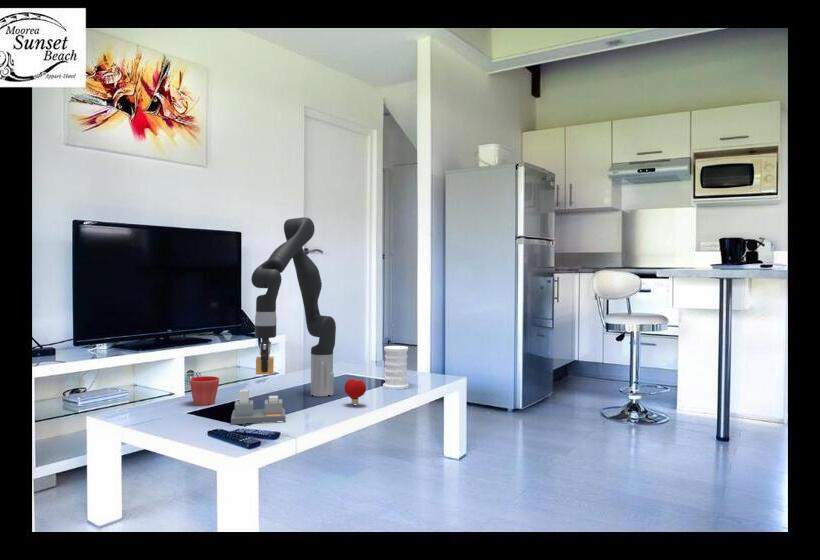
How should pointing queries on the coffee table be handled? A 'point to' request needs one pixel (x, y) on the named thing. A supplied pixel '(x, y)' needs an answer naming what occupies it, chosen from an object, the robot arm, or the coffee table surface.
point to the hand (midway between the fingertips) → (264, 370)
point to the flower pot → (204, 389)
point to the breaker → (244, 396)
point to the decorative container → (396, 367)
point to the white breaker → (273, 399)
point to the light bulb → (355, 389)
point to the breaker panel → (258, 413)
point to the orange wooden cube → (270, 366)
